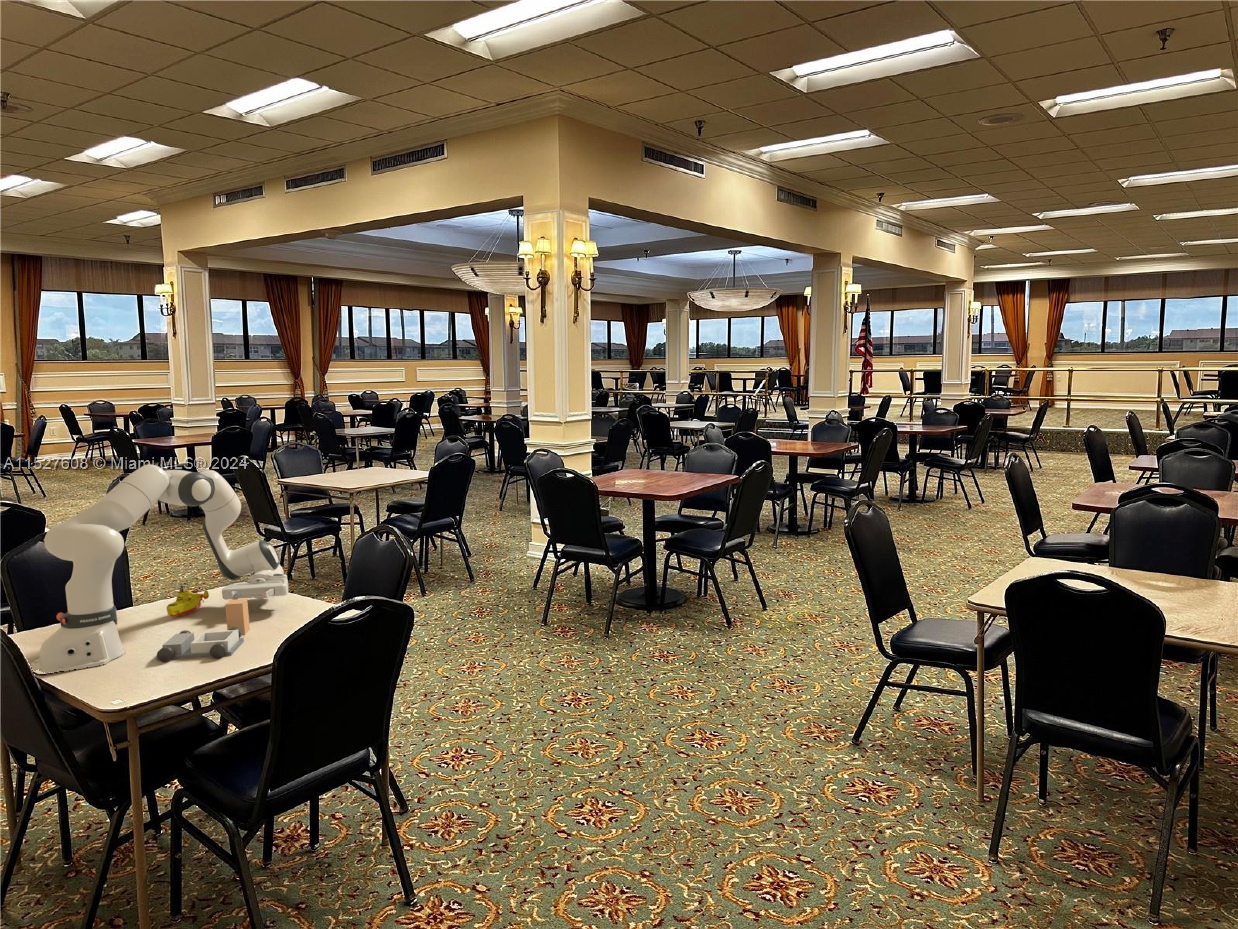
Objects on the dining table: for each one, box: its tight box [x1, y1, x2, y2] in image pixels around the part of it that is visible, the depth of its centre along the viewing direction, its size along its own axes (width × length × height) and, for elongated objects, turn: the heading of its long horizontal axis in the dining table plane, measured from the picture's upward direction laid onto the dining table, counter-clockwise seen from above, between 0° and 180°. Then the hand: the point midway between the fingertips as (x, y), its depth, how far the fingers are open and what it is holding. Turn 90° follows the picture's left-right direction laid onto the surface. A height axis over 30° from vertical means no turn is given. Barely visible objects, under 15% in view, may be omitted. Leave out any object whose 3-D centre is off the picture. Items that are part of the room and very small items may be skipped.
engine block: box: [224, 598, 251, 636], centre depth 255 cm, size 5×5×10 cm
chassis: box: [155, 627, 245, 663], centre depth 240 cm, size 20×16×4 cm
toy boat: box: [165, 585, 210, 617], centre depth 277 cm, size 6×18×10 cm, turn 174°
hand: (249, 596), depth 267 cm, fingers open, 8 cm apart
